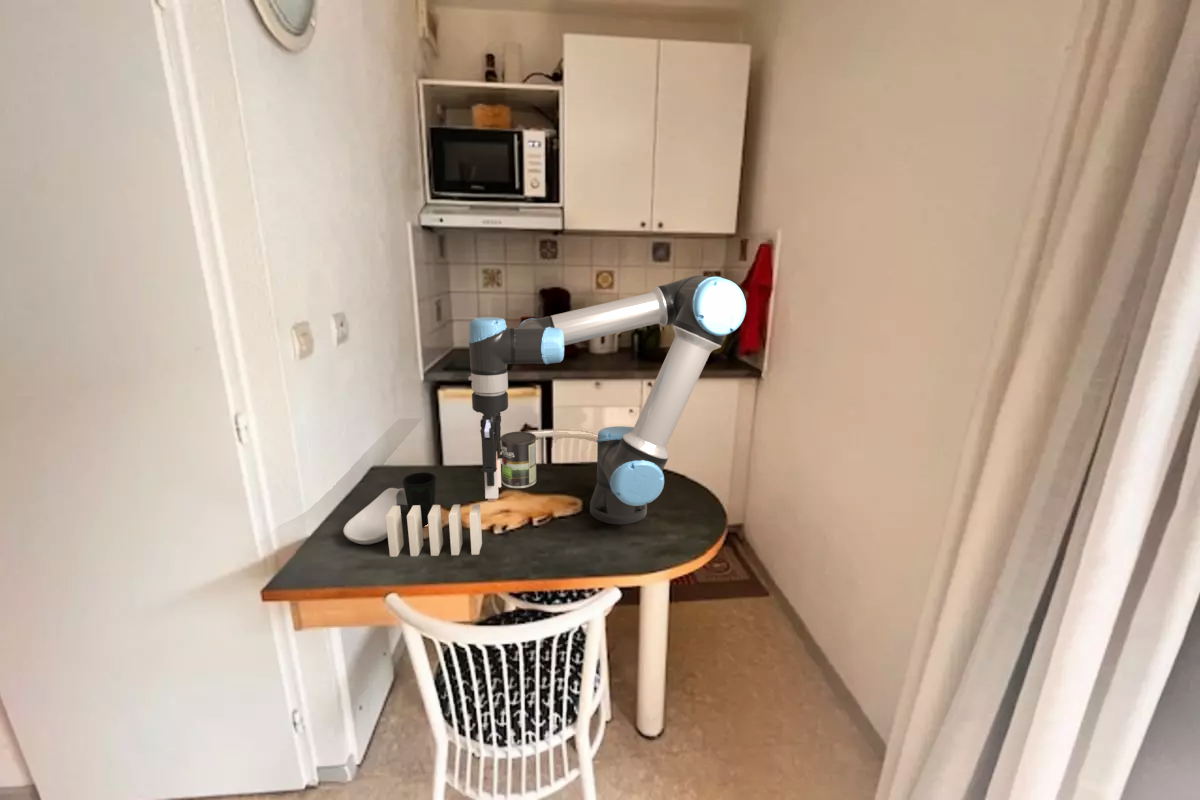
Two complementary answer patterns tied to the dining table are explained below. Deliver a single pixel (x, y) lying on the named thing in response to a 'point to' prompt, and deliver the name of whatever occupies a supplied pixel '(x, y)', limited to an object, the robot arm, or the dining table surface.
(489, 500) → the tile
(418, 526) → the tile
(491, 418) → the robot arm
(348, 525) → the spoon rest
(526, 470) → the coffee can
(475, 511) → the tile
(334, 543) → the dining table surface
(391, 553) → the cream flat rectangular block
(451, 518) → the tile
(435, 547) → the tile
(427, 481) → the cup
